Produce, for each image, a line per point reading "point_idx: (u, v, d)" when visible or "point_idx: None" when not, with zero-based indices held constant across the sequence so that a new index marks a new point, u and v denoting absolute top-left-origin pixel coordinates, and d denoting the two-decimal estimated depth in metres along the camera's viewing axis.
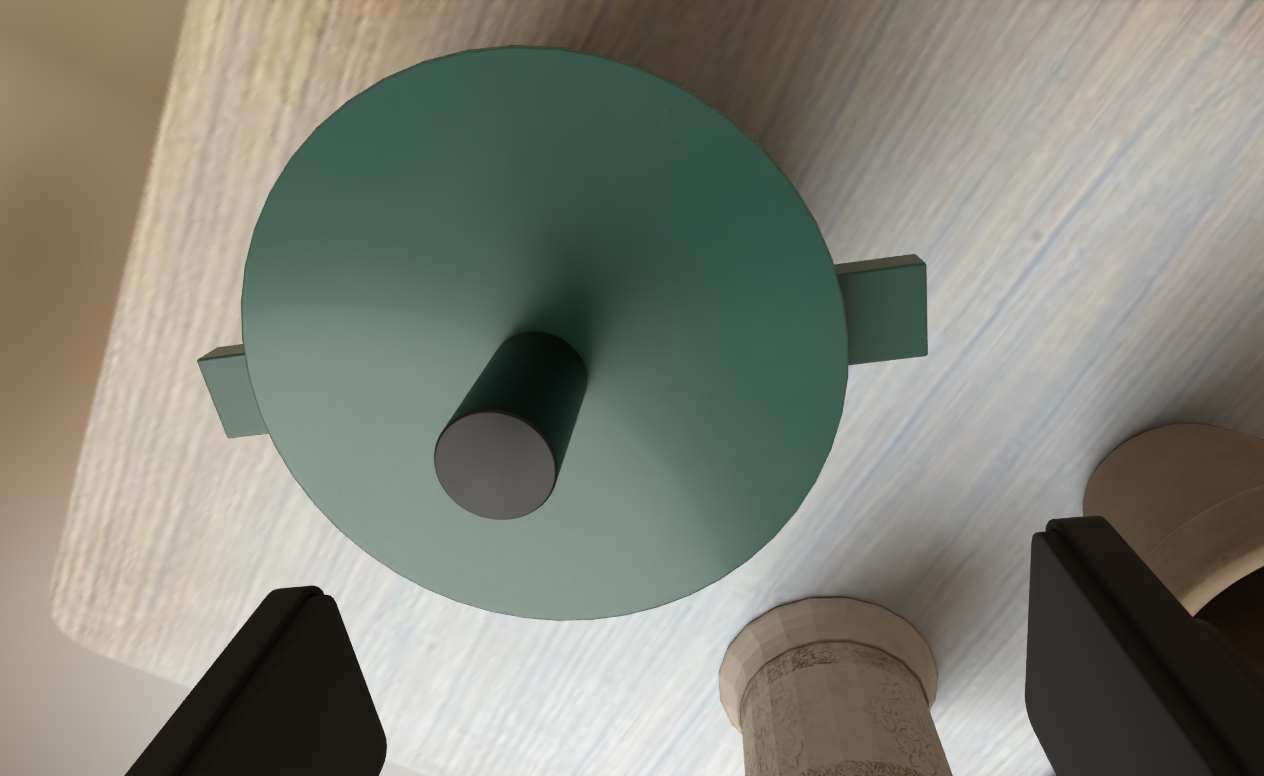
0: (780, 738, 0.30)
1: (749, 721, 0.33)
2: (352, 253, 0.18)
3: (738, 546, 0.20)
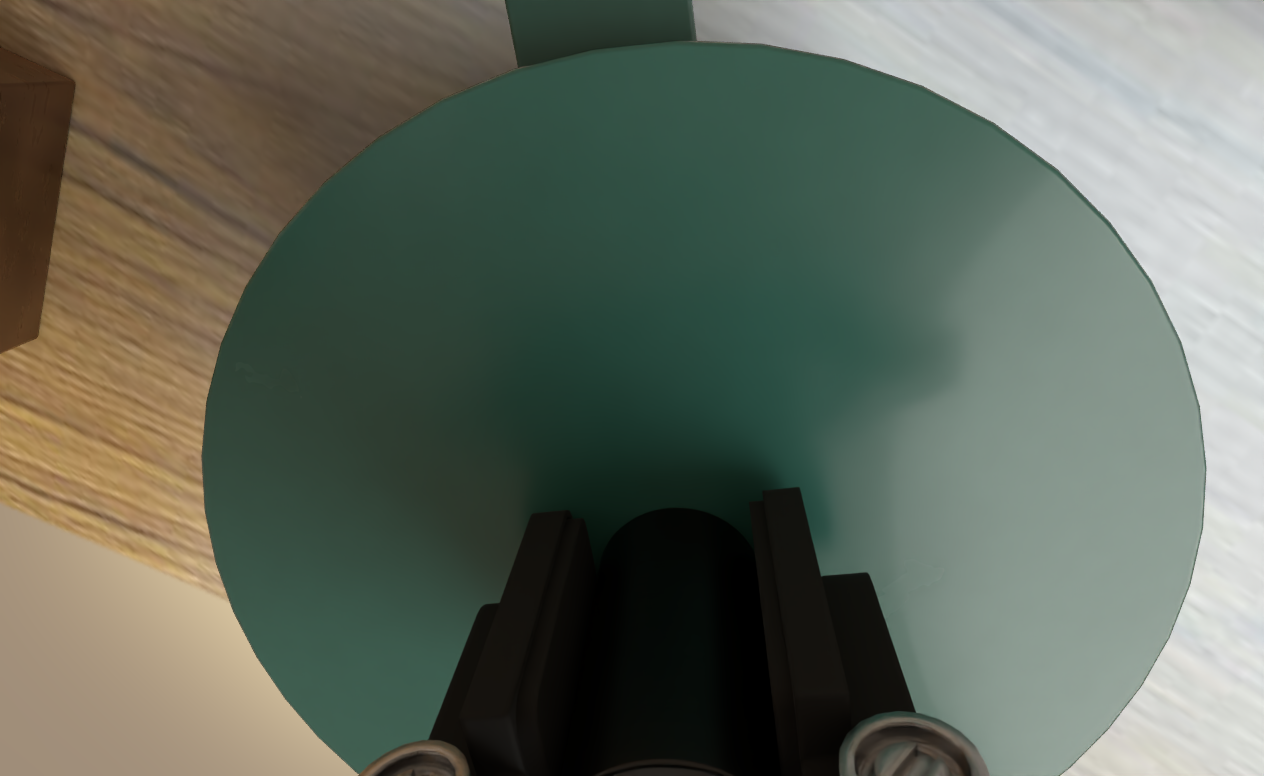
0: None
1: None
2: None
3: (1068, 247, 0.09)
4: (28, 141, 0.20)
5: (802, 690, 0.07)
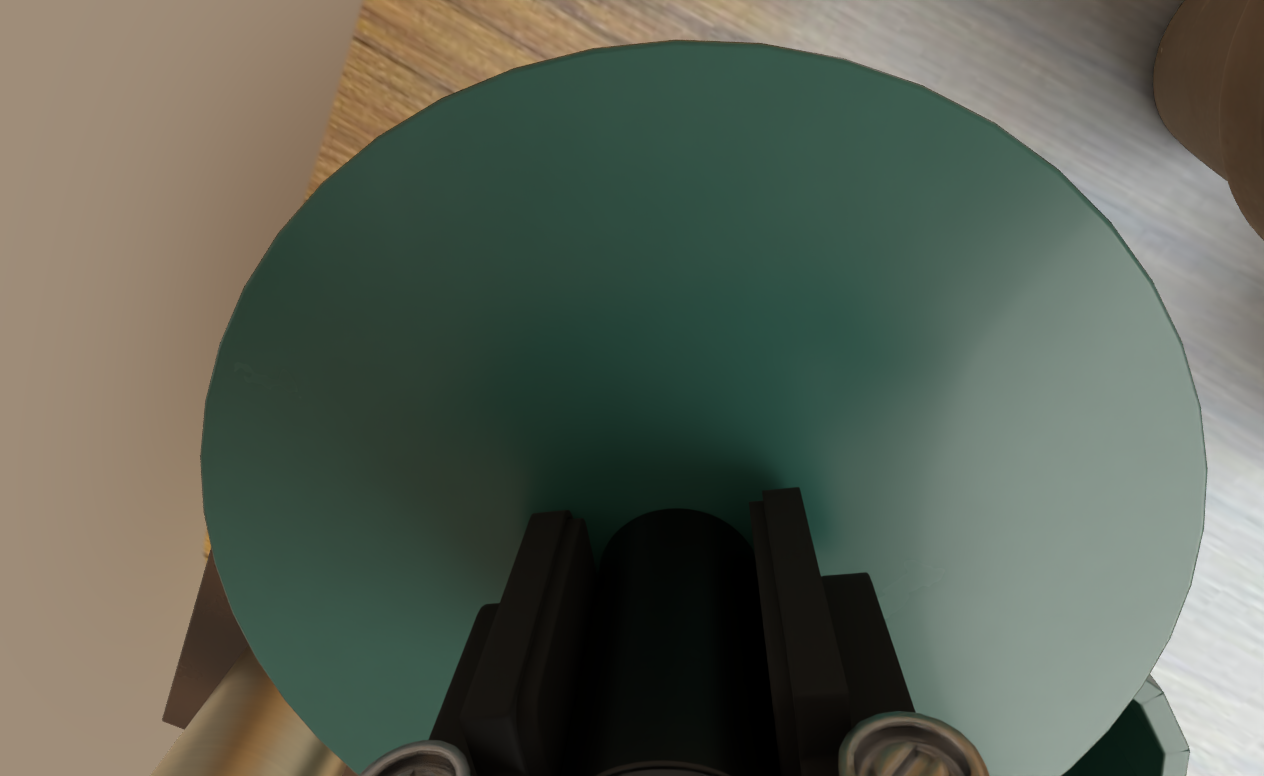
0: None
1: None
2: None
3: (1069, 247, 0.09)
4: None
5: (802, 690, 0.07)
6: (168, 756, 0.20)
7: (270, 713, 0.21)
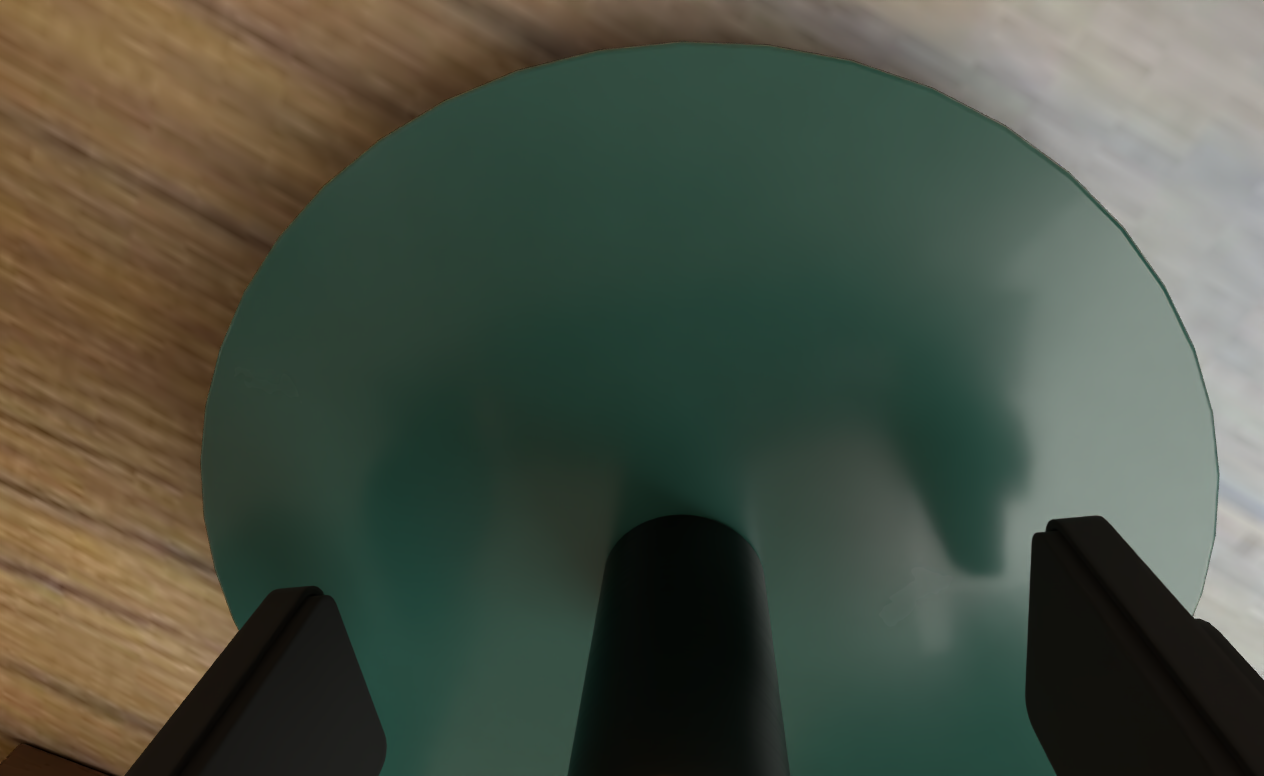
0: None
1: None
2: (506, 773, 0.14)
3: (1080, 251, 0.09)
4: None
5: None
6: None
7: None
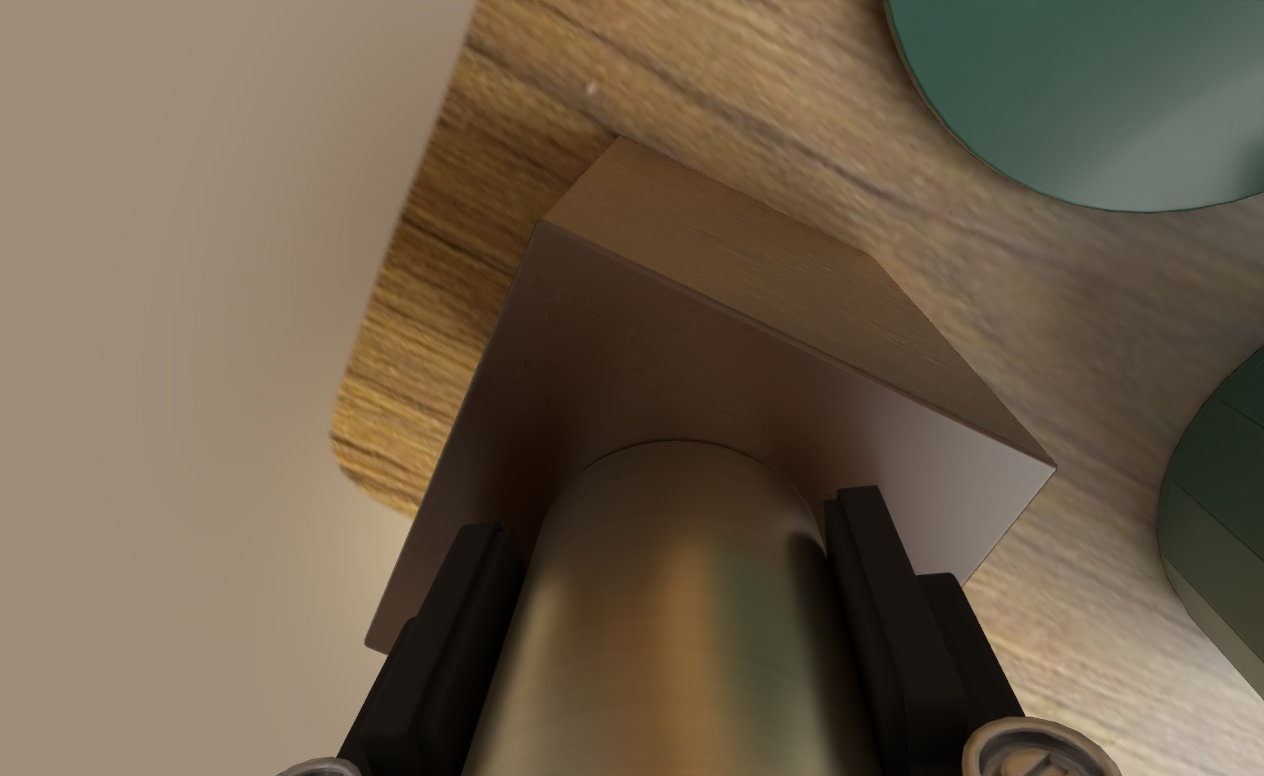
0: None
1: None
2: (1047, 80, 0.19)
3: None
4: None
5: (916, 695, 0.07)
6: (537, 683, 0.07)
7: (751, 584, 0.08)
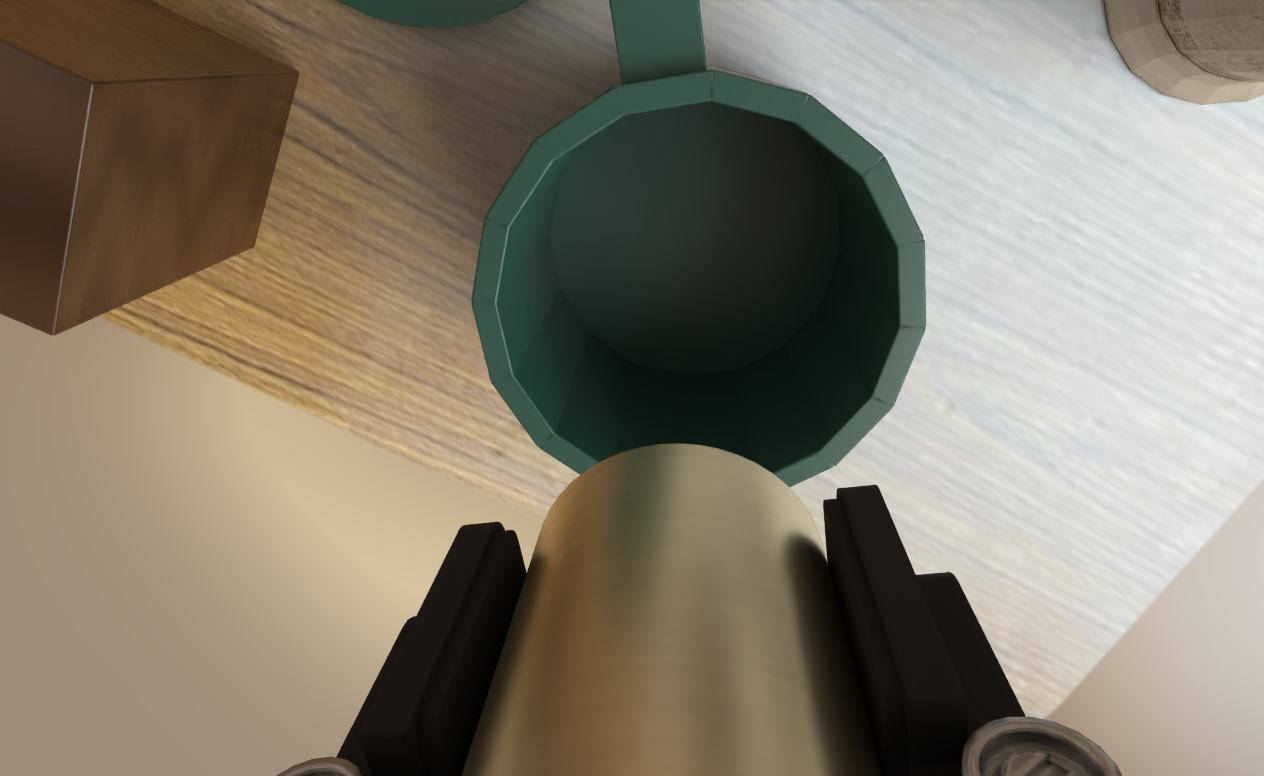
0: (1253, 43, 0.24)
1: (1249, 74, 0.26)
2: None
3: None
4: (274, 110, 0.31)
5: (916, 695, 0.07)
6: (535, 688, 0.07)
7: (750, 588, 0.08)
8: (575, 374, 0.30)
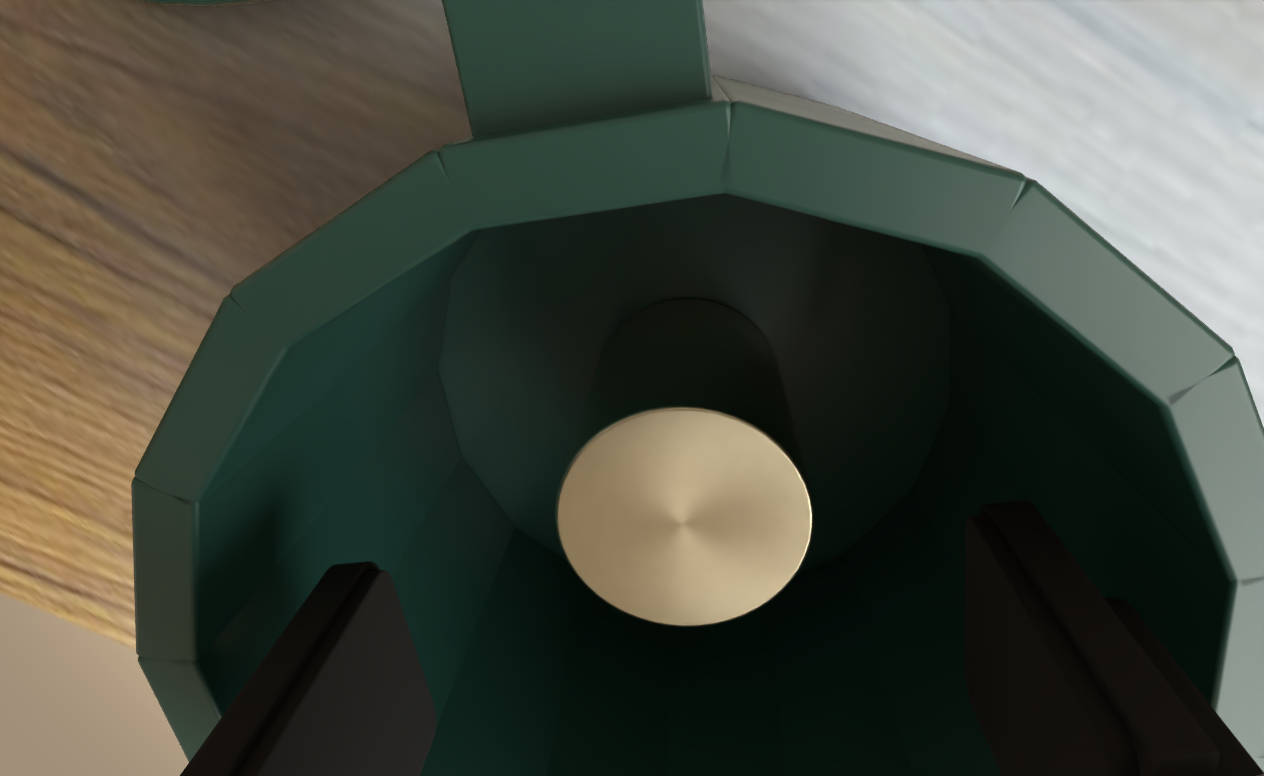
0: None
1: None
2: None
3: None
4: None
5: (1156, 748, 0.06)
6: (614, 388, 0.14)
7: (728, 352, 0.15)
8: (464, 657, 0.16)
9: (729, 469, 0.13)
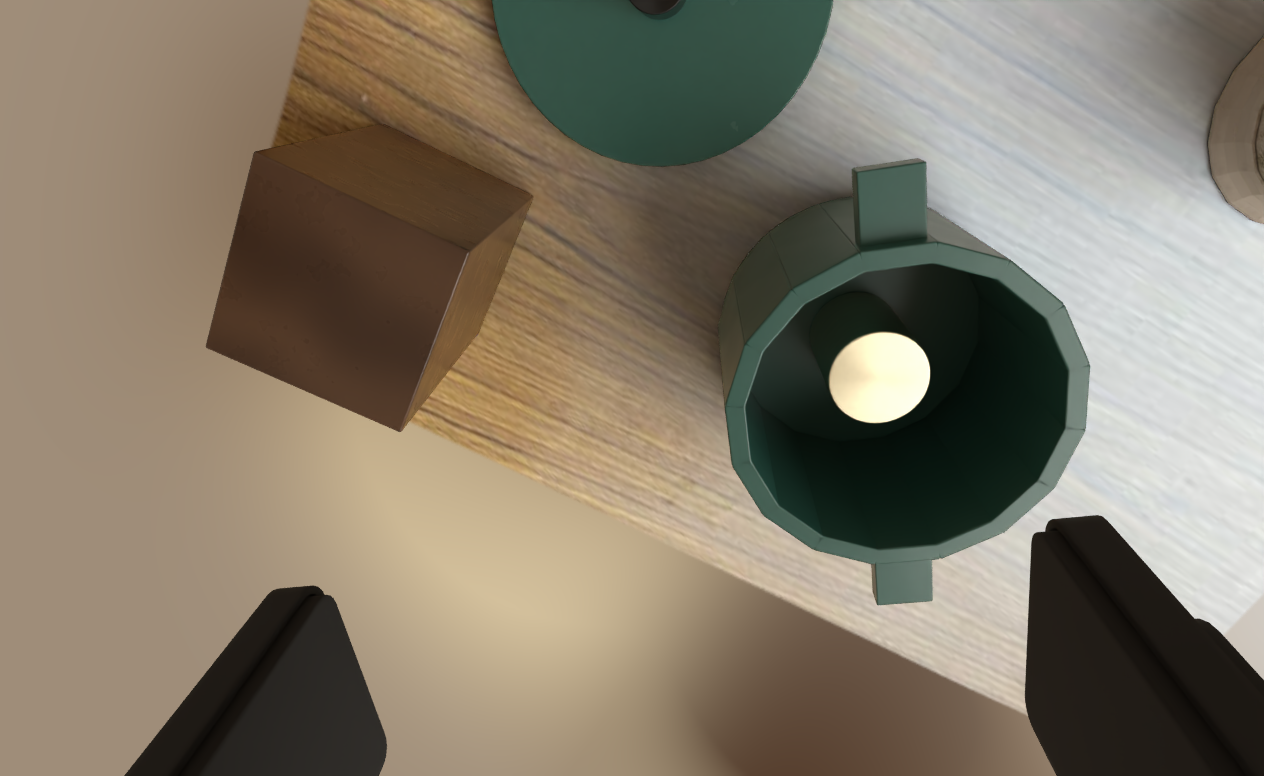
0: None
1: None
2: (593, 94, 0.35)
3: None
4: (517, 229, 0.38)
5: None
6: (846, 327, 0.35)
7: (888, 313, 0.36)
8: (768, 448, 0.37)
9: (899, 356, 0.33)
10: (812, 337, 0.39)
